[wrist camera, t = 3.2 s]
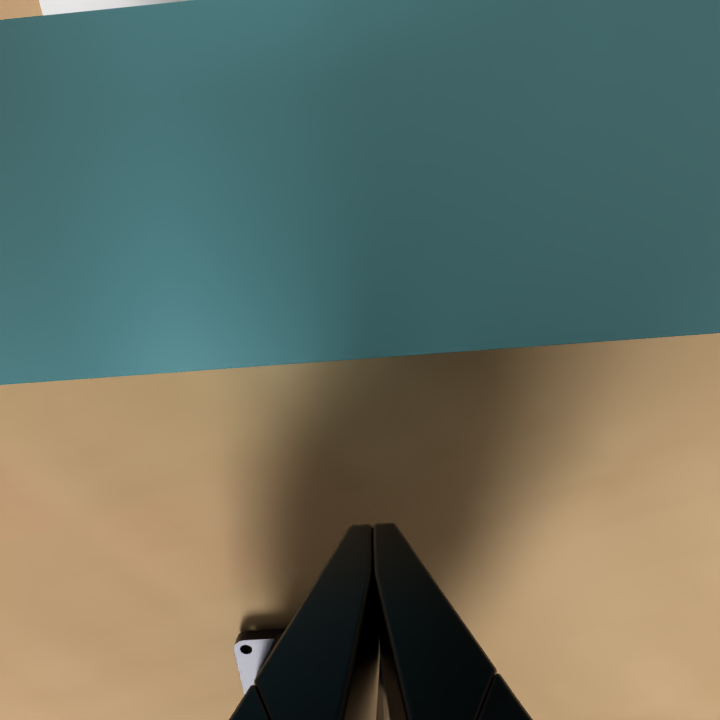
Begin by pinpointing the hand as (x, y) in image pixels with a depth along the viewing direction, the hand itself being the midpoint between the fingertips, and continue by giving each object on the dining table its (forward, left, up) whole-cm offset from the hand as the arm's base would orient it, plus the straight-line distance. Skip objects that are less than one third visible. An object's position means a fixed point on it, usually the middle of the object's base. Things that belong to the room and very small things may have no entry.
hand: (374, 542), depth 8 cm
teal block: (+6, 0, -7) cm, 9 cm away
